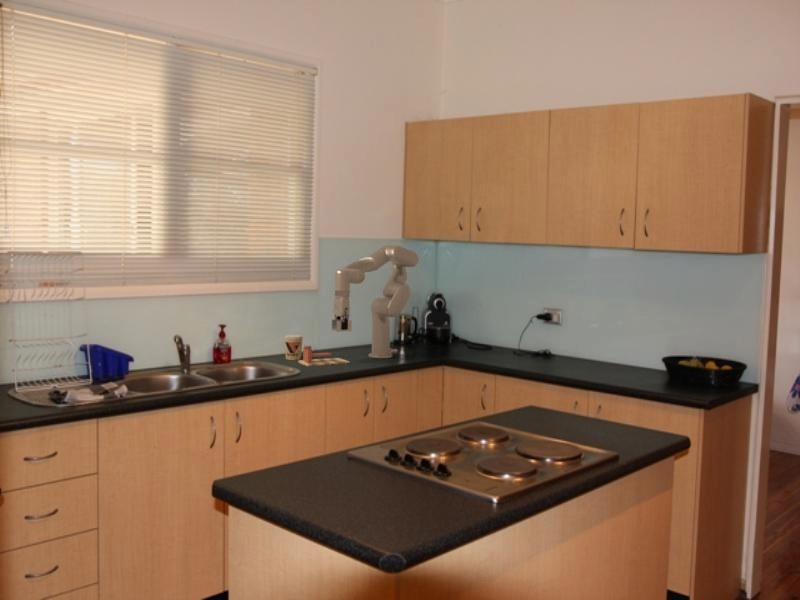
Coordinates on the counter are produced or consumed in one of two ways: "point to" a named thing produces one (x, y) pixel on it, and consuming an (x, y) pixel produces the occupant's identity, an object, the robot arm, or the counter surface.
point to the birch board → (324, 362)
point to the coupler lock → (340, 325)
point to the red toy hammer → (308, 354)
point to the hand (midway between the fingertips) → (341, 328)
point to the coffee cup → (293, 347)
